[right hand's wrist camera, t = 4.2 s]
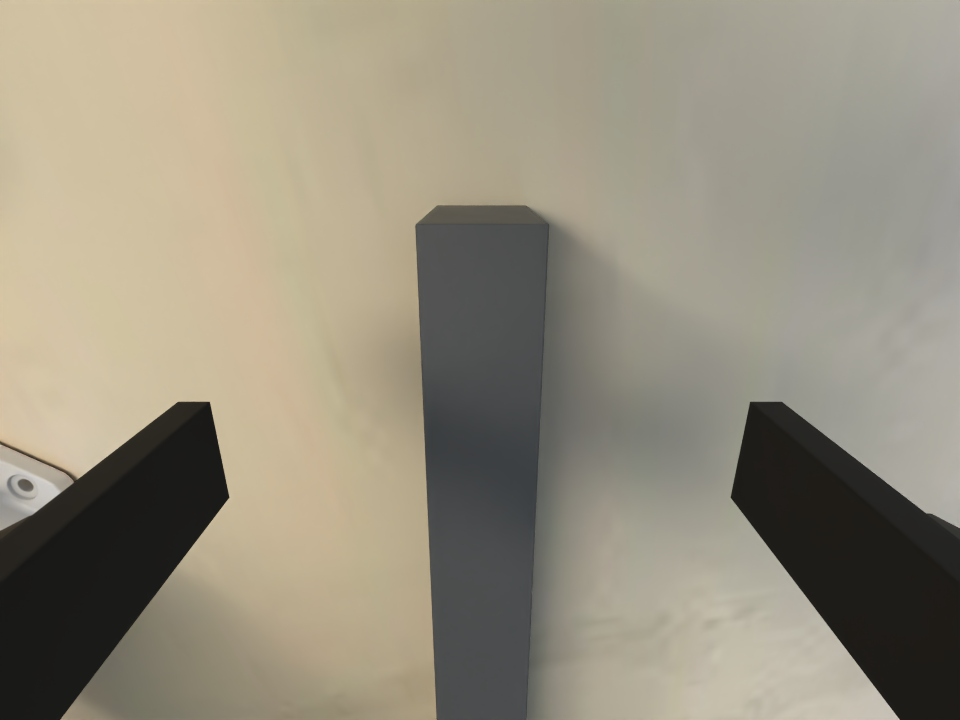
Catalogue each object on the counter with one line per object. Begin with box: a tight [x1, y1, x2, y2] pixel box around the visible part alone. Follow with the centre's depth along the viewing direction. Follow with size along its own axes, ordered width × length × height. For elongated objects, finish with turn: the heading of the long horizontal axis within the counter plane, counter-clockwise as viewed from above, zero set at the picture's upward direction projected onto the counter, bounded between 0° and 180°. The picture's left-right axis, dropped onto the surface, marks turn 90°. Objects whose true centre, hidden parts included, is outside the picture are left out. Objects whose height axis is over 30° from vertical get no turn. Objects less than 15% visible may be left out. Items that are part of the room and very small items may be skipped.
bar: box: [416, 206, 549, 720], centre depth 31 cm, size 55×4×9 cm, turn 0°
